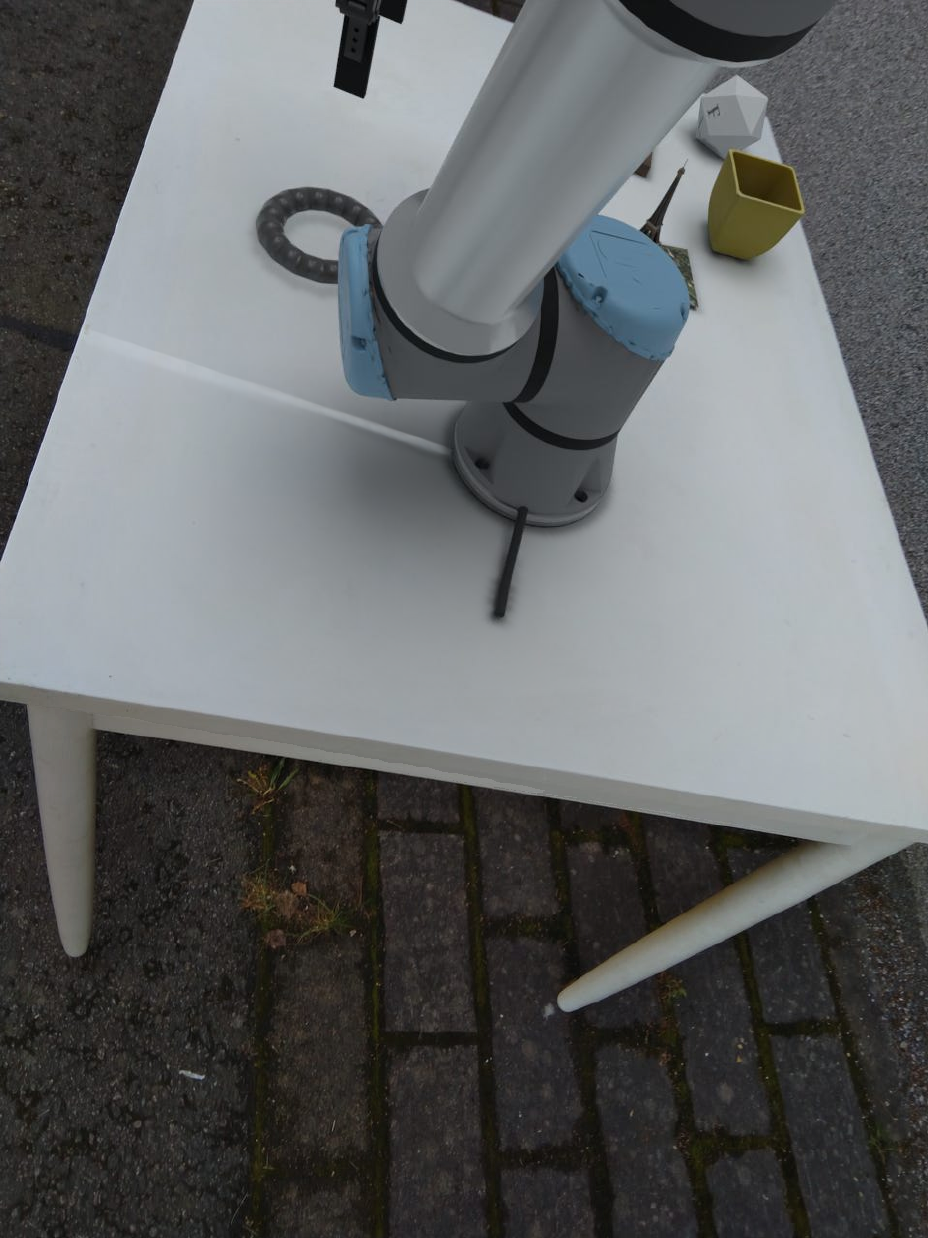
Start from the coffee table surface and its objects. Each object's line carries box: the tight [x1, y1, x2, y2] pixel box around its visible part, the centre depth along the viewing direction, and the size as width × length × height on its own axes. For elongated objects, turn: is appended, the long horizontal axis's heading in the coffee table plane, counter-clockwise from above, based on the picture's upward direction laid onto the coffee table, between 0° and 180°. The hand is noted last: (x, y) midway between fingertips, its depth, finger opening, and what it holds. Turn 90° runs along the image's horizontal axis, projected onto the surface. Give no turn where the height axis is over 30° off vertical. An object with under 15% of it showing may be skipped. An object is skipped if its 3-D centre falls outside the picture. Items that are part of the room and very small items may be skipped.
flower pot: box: [707, 149, 805, 261], centre depth 108 cm, size 9×9×9 cm
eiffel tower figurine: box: [638, 158, 699, 308], centre depth 98 cm, size 15×10×13 cm
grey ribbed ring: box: [255, 186, 384, 285], centre depth 90 cm, size 13×13×3 cm
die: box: [695, 74, 769, 161], centre depth 119 cm, size 8×9×10 cm
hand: (369, 52), depth 81 cm, fingers open, 13 cm apart
